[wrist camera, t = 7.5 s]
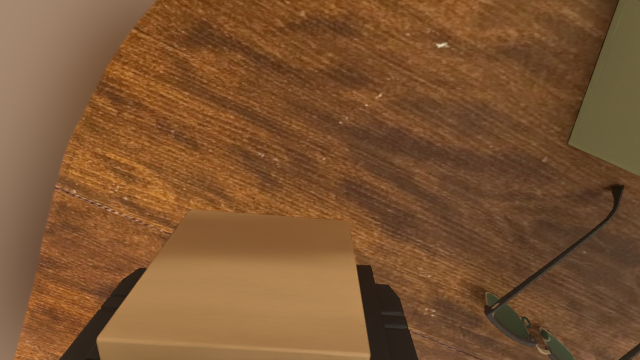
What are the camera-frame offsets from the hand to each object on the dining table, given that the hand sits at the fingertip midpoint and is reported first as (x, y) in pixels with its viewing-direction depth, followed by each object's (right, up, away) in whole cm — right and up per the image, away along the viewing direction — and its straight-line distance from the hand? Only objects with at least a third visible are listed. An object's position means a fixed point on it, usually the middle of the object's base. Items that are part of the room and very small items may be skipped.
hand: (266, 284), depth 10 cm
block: (0, 0, 0) cm, 0 cm away
